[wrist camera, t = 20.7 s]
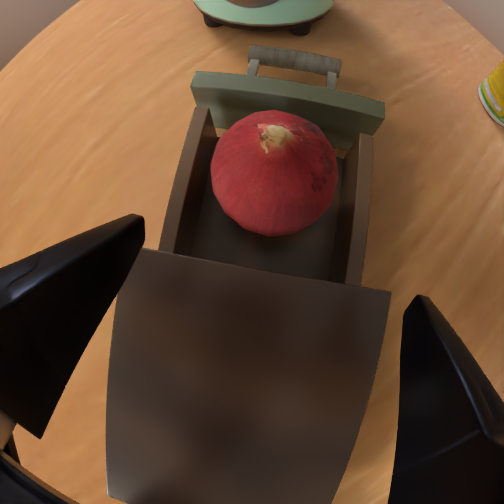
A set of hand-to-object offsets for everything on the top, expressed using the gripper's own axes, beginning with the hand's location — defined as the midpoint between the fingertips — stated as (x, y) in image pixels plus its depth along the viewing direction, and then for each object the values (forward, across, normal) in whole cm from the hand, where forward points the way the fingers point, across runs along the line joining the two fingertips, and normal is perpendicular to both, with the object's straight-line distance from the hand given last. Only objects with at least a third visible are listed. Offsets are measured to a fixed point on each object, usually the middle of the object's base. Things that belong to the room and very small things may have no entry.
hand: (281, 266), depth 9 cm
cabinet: (+2, 0, +12) cm, 12 cm away
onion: (+9, +1, +3) cm, 9 cm away
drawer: (+10, +1, +2) cm, 11 cm away
